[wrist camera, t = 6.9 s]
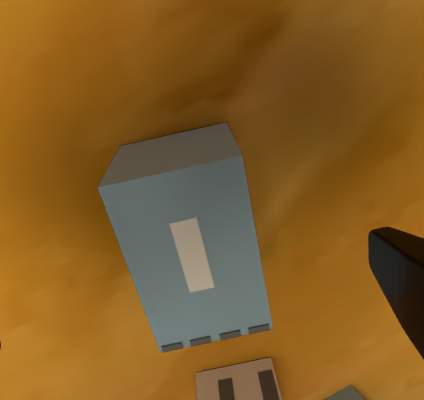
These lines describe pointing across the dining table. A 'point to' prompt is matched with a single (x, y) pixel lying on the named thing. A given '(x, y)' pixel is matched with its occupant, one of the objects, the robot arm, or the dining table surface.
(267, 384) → the block
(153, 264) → the stub
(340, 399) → the torn stub
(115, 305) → the dining table surface
